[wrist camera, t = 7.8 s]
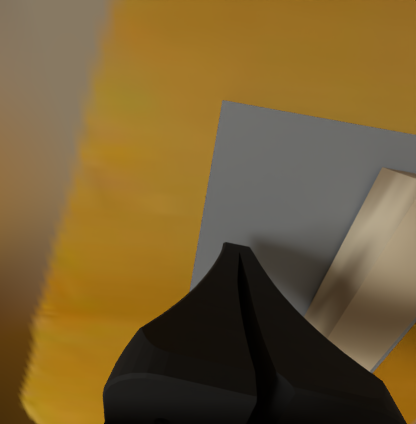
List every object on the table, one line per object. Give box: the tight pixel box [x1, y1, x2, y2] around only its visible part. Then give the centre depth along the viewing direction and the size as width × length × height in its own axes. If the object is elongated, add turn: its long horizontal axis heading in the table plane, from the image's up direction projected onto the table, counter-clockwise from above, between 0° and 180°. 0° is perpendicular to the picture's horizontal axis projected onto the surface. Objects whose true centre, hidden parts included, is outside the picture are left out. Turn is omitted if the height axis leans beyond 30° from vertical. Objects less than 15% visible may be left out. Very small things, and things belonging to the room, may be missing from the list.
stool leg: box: [304, 167, 416, 372], centre depth 12 cm, size 16×3×2 cm, turn 170°
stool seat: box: [190, 100, 416, 373], centre depth 13 cm, size 18×14×1 cm
